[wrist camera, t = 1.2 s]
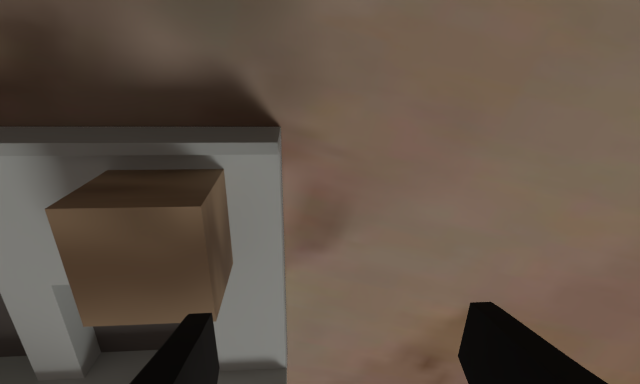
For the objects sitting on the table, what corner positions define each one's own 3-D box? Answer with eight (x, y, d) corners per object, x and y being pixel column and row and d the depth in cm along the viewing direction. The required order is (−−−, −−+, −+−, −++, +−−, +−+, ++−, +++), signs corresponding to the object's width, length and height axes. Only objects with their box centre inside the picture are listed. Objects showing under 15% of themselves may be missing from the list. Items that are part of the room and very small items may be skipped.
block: (233, 263, 17) (216, 321, 13) (130, 265, 16) (83, 326, 13) (223, 169, 15) (201, 206, 11) (107, 169, 15) (44, 209, 11)
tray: (287, 352, 22) (286, 398, 19) (-72, 370, 21) (-133, 422, 18) (280, 126, 16) (277, 142, 13) (-218, 126, 15) (-345, 144, 12)
